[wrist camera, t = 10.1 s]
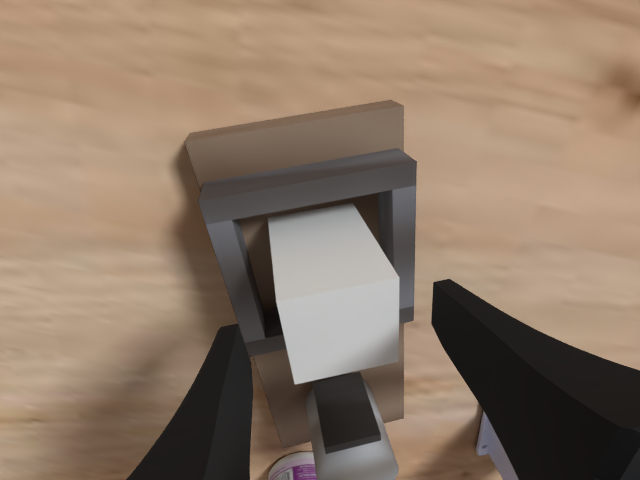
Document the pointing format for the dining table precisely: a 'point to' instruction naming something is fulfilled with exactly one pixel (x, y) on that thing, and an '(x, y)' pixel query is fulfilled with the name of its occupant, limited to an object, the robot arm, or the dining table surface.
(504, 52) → the dining table surface
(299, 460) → the pill bottle
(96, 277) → the dining table surface
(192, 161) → the brown board with socket
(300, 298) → the white block
